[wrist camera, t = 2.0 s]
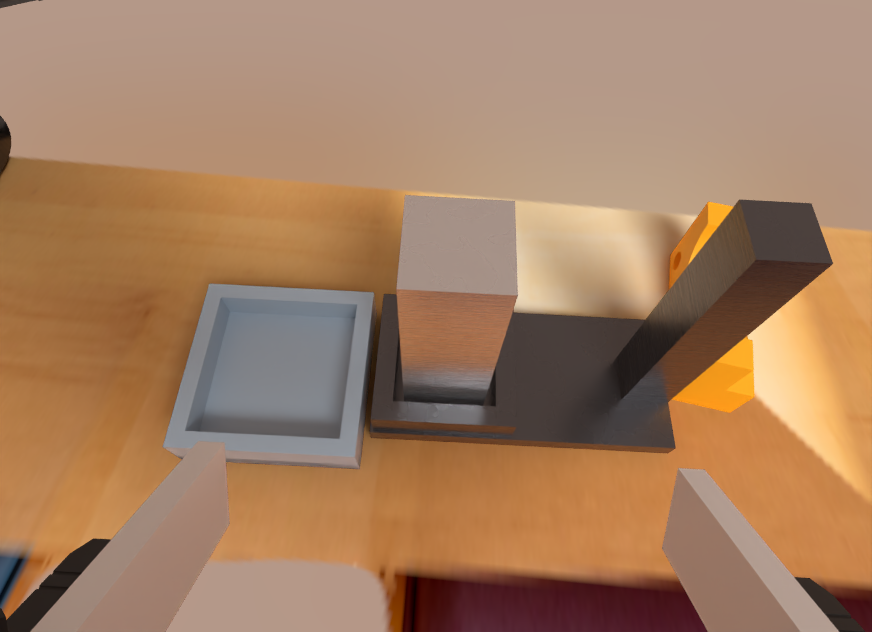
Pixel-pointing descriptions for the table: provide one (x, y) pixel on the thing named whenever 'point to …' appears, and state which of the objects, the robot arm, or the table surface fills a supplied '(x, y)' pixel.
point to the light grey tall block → (454, 295)
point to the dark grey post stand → (617, 348)
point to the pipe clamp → (733, 371)
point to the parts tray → (278, 376)
